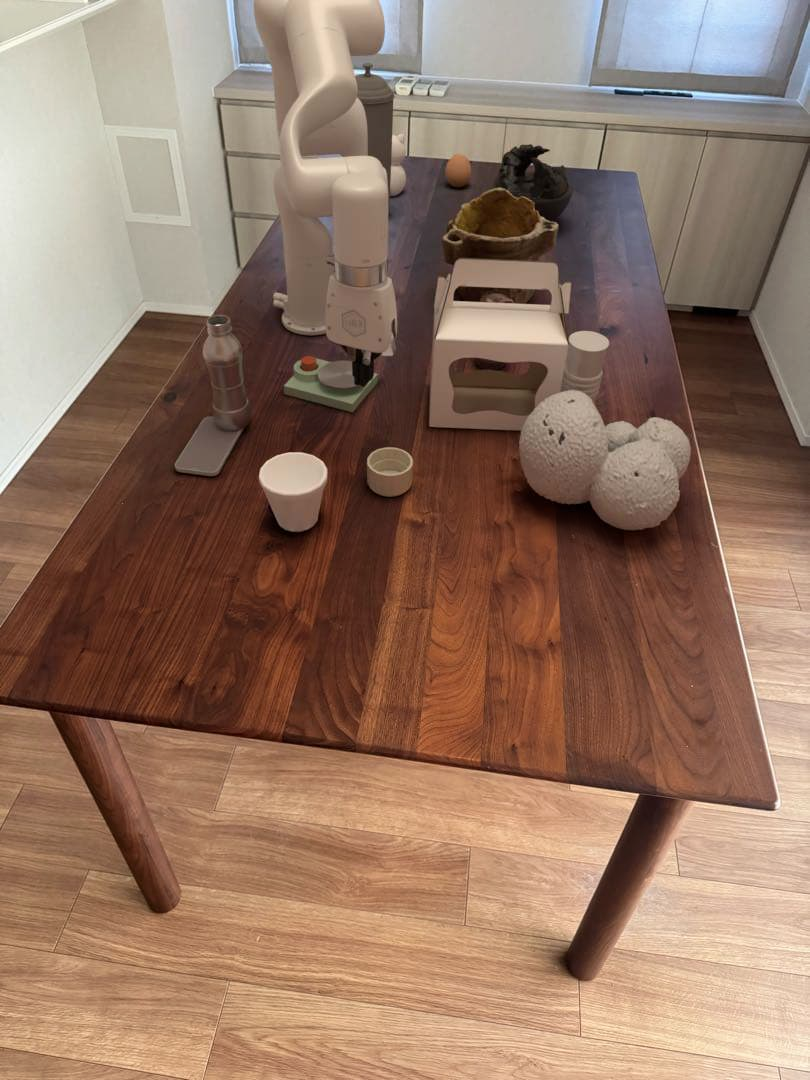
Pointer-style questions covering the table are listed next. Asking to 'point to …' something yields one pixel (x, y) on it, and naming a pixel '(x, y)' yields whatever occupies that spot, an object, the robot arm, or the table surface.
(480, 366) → the can
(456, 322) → the cardboard gift box
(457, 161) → the egg
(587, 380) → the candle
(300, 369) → the scale
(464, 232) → the ceramic vessel
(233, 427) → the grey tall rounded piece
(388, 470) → the bowl
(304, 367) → the button
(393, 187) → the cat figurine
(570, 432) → the grey lumpy cluster
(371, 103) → the canister
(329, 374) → the scale plate
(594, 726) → the table surface
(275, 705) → the table surface
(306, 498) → the cup
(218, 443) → the smartphone
